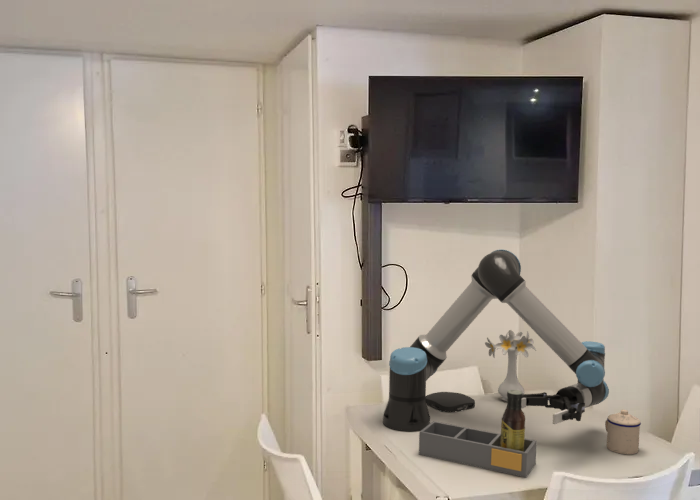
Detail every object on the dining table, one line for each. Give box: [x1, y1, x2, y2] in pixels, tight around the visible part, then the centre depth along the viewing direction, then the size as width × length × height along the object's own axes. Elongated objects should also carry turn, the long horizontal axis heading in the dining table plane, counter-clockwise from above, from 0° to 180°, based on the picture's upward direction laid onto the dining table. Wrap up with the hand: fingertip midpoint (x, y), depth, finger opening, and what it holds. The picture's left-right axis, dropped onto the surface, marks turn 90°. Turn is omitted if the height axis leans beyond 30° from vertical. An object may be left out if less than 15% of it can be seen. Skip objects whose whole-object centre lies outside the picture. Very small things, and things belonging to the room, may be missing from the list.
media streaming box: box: [425, 391, 476, 413], centre depth 235 cm, size 15×15×3 cm
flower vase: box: [484, 329, 537, 403], centre depth 240 cm, size 13×18×25 cm
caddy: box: [418, 420, 538, 478], centre depth 186 cm, size 30×11×6 cm, turn 61°
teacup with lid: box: [604, 409, 642, 455], centre depth 197 cm, size 12×9×12 cm
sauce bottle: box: [500, 390, 526, 452], centre depth 181 cm, size 6×6×20 cm
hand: (532, 412), depth 186 cm, fingers open, 13 cm apart
